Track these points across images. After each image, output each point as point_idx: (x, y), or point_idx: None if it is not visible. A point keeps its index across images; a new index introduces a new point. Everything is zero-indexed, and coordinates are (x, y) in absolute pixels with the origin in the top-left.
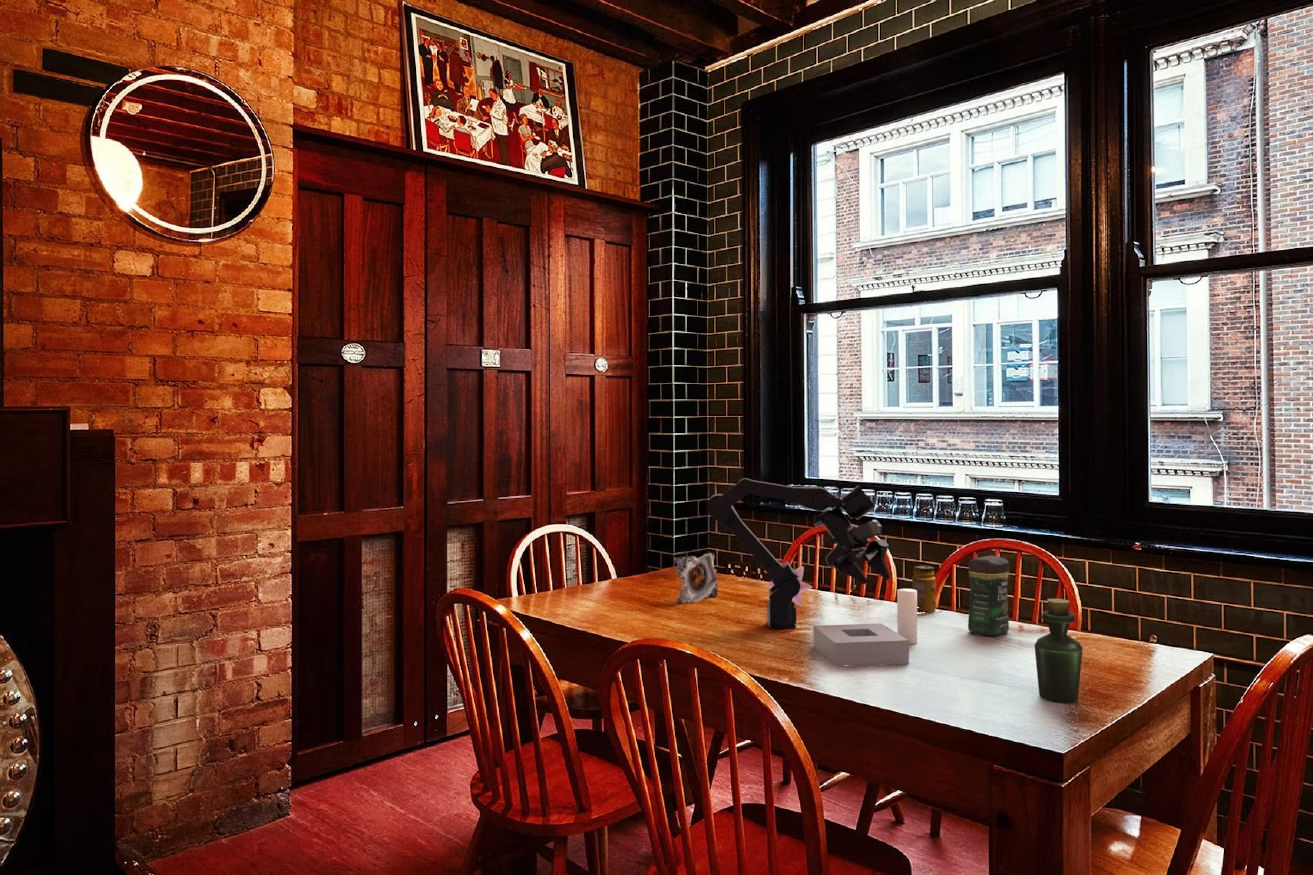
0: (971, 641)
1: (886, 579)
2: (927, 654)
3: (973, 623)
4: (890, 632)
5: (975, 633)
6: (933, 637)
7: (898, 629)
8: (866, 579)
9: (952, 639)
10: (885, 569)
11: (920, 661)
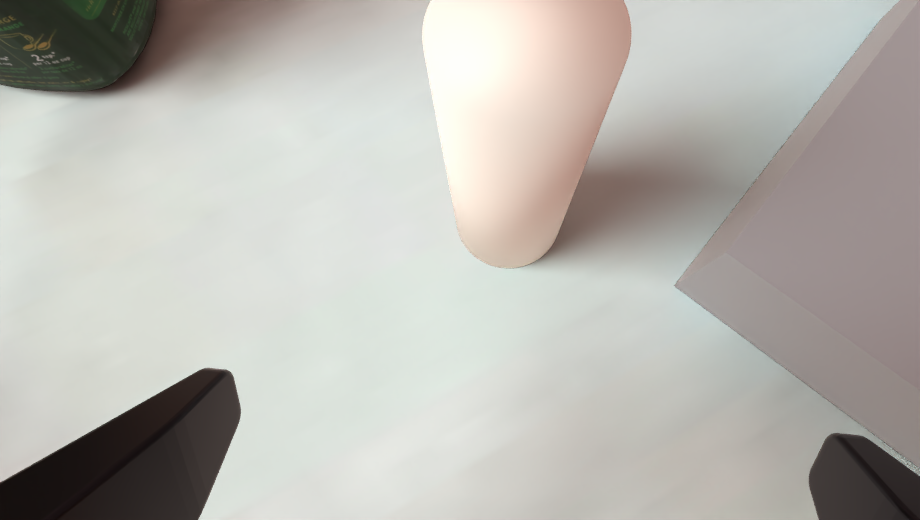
0: (292, 10)
1: (234, 427)
2: (663, 38)
3: (113, 20)
4: (904, 81)
5: (143, 47)
6: (325, 167)
7: (560, 223)
8: (867, 454)
9: (307, 84)
10: (127, 466)
11: (799, 5)
